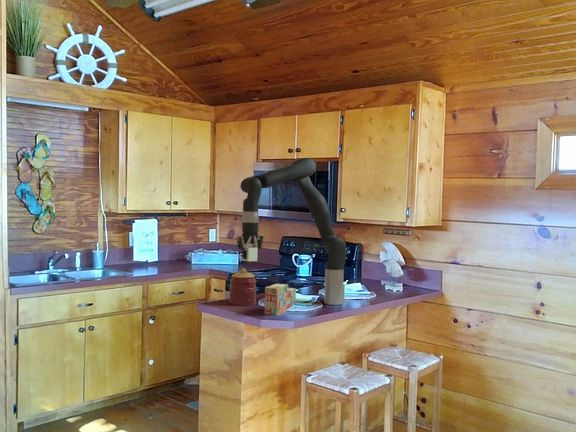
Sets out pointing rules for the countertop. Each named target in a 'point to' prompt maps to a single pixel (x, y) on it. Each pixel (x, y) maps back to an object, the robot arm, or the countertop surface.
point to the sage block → (251, 254)
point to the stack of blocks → (279, 299)
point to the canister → (243, 289)
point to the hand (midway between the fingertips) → (249, 258)
